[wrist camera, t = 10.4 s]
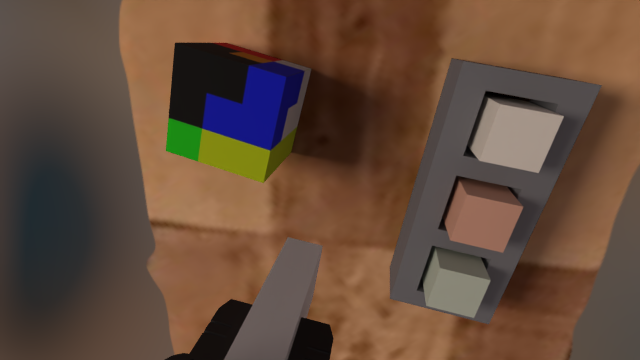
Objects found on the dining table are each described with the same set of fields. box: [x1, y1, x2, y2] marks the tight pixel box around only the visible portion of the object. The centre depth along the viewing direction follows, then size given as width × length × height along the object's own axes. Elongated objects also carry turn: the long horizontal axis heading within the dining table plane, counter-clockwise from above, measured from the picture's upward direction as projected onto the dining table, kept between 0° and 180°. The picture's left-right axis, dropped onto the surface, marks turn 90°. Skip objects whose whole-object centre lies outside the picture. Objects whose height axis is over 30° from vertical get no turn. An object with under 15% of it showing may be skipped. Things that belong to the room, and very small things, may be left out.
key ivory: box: [467, 94, 564, 173], centre depth 31 cm, size 5×5×8 cm
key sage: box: [422, 246, 491, 318], centre depth 37 cm, size 5×5×8 cm
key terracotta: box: [443, 176, 523, 253], centre depth 34 cm, size 5×5×8 cm
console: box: [390, 59, 602, 324], centre depth 36 cm, size 26×11×6 cm, turn 171°
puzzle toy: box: [166, 43, 311, 183], centre depth 35 cm, size 10×10×10 cm
